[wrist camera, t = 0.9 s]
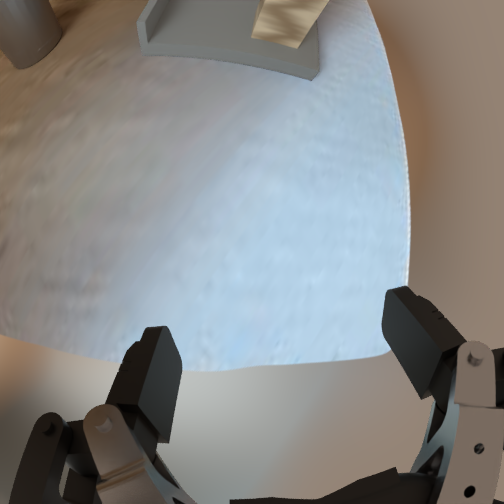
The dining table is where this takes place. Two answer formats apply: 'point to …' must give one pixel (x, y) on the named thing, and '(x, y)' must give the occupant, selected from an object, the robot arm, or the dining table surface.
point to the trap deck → (221, 36)
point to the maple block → (285, 20)
